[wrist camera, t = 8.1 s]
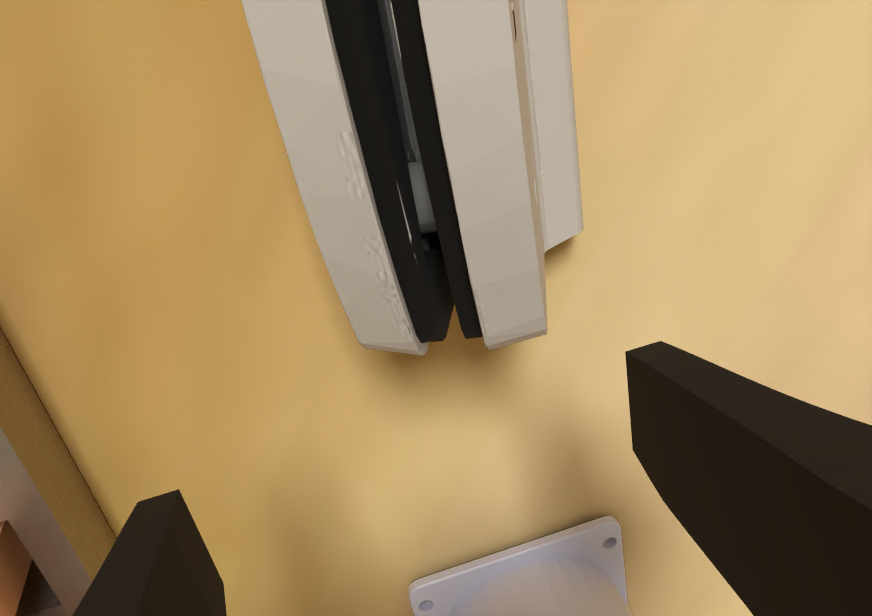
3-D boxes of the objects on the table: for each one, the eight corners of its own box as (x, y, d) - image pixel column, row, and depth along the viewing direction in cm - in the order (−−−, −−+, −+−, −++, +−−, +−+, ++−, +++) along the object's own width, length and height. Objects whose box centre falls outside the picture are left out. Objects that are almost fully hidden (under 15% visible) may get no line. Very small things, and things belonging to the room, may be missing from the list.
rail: (243, 768, 29) (244, 836, 27) (106, 817, 28) (97, 891, 26) (-79, 185, 17) (-122, 222, 15) (-324, 245, 17) (-405, 292, 15)
